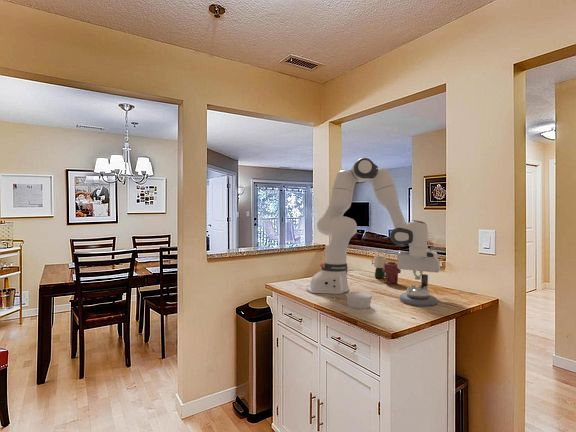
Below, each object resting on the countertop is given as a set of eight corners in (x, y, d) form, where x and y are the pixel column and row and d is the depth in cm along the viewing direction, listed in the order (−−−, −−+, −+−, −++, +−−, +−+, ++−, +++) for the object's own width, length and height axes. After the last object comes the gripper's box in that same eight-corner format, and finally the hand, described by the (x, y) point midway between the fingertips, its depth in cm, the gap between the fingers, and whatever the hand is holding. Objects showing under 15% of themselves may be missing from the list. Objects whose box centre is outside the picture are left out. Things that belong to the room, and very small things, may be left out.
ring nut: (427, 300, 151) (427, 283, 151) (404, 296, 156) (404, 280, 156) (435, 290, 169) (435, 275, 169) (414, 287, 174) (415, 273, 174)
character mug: (390, 278, 209) (390, 257, 209) (386, 280, 204) (386, 258, 203) (373, 275, 216) (373, 255, 215) (369, 277, 210) (369, 256, 210)
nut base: (409, 306, 149) (409, 301, 149) (394, 297, 165) (394, 292, 165) (443, 306, 151) (443, 301, 151) (425, 296, 167) (425, 292, 166)
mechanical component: (381, 281, 200) (398, 281, 199) (384, 285, 190) (402, 285, 189) (381, 260, 200) (398, 260, 199) (384, 263, 190) (402, 263, 189)
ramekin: (353, 301, 157) (353, 290, 157) (376, 306, 150) (376, 294, 150) (341, 306, 149) (341, 294, 149) (364, 312, 142) (364, 299, 141)
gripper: (396, 251, 174) (395, 278, 174) (439, 254, 164) (438, 282, 164) (398, 250, 179) (397, 276, 180) (440, 253, 169) (440, 280, 170)
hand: (417, 279), depth 172 cm, fingers closed
